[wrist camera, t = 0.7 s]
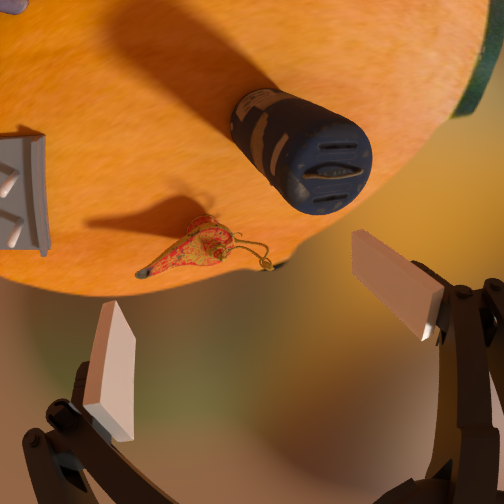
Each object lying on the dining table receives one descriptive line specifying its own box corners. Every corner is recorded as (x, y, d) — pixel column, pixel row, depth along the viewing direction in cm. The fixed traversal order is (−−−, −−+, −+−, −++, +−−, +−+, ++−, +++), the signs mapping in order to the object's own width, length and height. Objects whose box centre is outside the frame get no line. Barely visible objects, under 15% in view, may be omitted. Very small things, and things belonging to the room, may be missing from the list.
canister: (283, 158, 41) (360, 229, 28) (219, 150, 37) (276, 226, 24) (303, 95, 36) (399, 140, 23) (236, 79, 32) (314, 111, 19)
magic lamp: (127, 225, 39) (129, 280, 31) (251, 200, 44) (282, 245, 36) (137, 263, 43) (144, 319, 36) (250, 238, 48) (279, 286, 40)
